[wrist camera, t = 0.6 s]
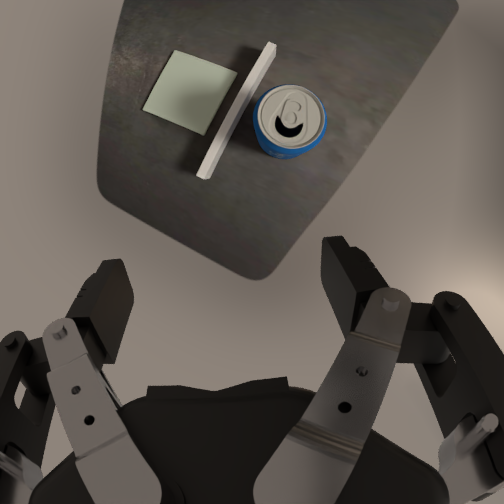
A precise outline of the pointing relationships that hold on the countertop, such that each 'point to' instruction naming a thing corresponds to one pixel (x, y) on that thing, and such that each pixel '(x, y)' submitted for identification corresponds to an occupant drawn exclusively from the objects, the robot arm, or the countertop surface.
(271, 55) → the low wall
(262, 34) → the countertop surface
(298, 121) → the beverage can
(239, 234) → the countertop surface
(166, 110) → the mat
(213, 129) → the countertop surface
